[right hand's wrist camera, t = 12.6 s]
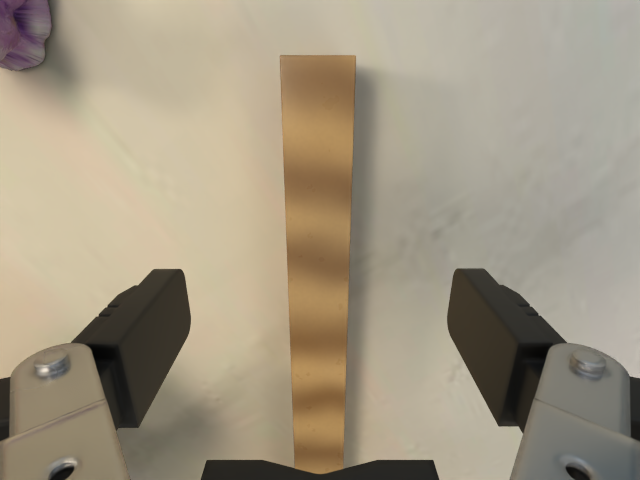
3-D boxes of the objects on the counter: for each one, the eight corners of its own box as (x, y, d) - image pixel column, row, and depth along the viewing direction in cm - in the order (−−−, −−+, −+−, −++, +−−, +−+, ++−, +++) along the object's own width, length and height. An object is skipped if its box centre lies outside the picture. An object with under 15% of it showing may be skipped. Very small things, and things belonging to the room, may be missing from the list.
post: (289, 64, 31) (279, 55, 23) (347, 64, 31) (356, 55, 23) (303, 569, 56) (301, 641, 49) (335, 569, 56) (337, 641, 49)
